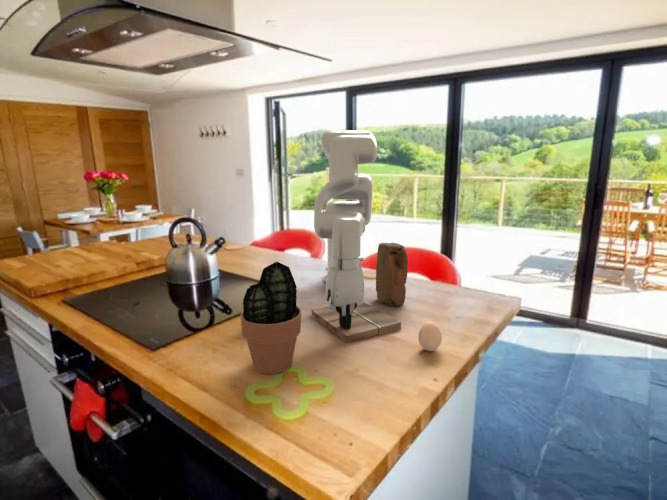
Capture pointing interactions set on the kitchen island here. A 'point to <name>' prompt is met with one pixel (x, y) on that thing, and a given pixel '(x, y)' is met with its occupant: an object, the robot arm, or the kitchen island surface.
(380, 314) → the laid board
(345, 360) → the kitchen island surface
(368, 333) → the plank
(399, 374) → the kitchen island surface
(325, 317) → the plank
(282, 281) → the potted plant
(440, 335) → the egg
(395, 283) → the block
